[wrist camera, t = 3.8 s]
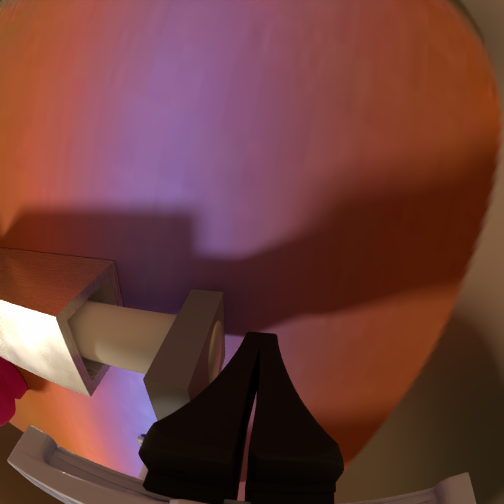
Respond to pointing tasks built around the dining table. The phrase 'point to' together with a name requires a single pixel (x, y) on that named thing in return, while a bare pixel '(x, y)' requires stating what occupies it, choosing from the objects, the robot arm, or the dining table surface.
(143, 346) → the tube
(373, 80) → the dining table surface
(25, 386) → the pepper mill
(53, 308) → the sleeve
